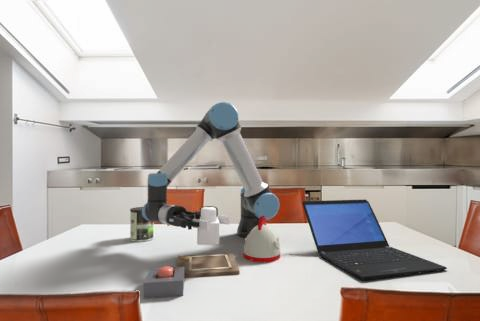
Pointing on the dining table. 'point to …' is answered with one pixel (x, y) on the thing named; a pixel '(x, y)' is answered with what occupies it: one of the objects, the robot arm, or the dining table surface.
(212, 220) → the medicine bottle
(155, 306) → the dining table surface
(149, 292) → the block
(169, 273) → the button
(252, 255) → the kitchen timer
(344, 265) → the laptop
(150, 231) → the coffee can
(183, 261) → the picture board
